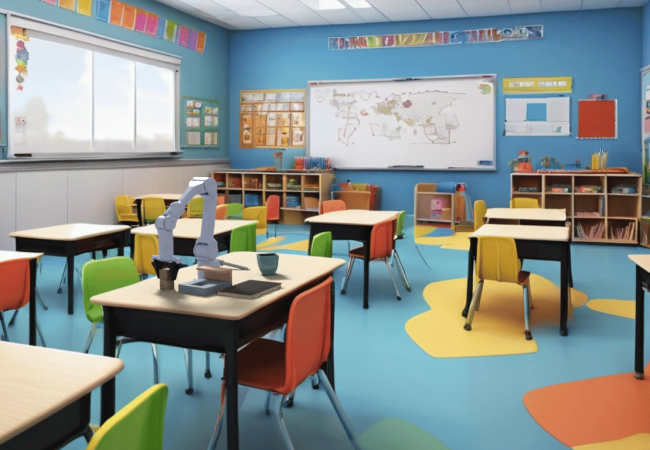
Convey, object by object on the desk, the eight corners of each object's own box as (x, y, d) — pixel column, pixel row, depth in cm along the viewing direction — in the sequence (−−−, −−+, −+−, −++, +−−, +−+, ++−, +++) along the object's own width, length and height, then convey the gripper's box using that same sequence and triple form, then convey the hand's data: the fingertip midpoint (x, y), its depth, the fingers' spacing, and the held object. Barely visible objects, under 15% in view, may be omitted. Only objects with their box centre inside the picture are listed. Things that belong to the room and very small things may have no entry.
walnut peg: (167, 287, 244) (166, 267, 243) (174, 288, 242) (173, 268, 241) (159, 289, 241) (159, 269, 240) (167, 290, 239) (166, 270, 238)
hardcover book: (282, 288, 245) (282, 282, 244) (251, 300, 224) (251, 294, 224) (248, 284, 252) (248, 279, 251) (216, 296, 231) (216, 290, 231)
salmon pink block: (205, 277, 249) (205, 265, 248) (232, 280, 242) (232, 268, 241) (196, 279, 244) (196, 267, 244) (223, 283, 237) (223, 270, 237)
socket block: (206, 284, 249) (205, 277, 249) (232, 288, 242) (232, 280, 242) (178, 291, 236) (178, 284, 235) (205, 296, 229) (205, 288, 228)
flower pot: (256, 272, 274) (256, 253, 273) (275, 271, 277) (275, 252, 276) (260, 276, 266) (259, 256, 265) (279, 275, 268) (279, 255, 267)
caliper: (209, 268, 286) (208, 255, 285) (210, 268, 287) (209, 255, 286) (249, 270, 281) (249, 257, 280) (250, 270, 282) (250, 257, 281)
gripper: (145, 245, 240) (146, 279, 241) (171, 248, 232) (172, 283, 234) (158, 243, 246) (159, 276, 247) (184, 246, 238) (185, 279, 240)
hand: (166, 279), depth 241 cm, fingers open, 7 cm apart
